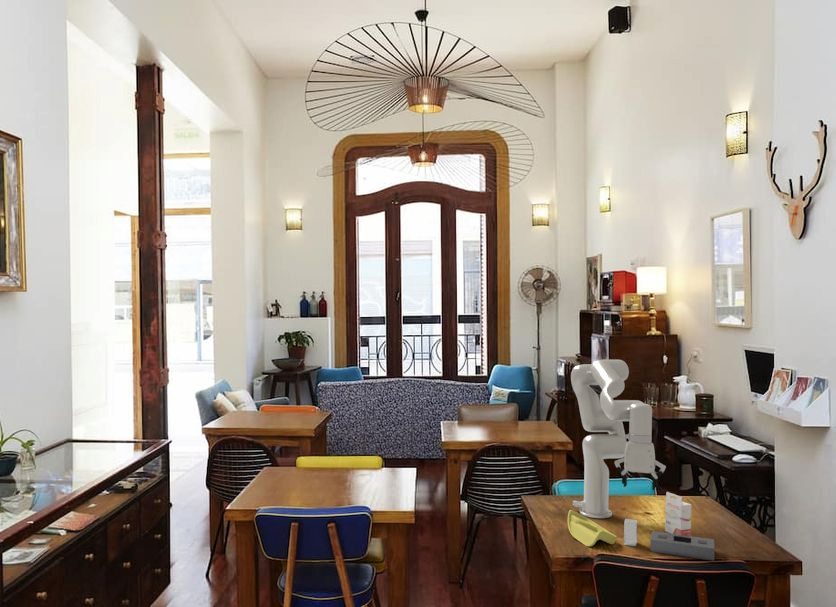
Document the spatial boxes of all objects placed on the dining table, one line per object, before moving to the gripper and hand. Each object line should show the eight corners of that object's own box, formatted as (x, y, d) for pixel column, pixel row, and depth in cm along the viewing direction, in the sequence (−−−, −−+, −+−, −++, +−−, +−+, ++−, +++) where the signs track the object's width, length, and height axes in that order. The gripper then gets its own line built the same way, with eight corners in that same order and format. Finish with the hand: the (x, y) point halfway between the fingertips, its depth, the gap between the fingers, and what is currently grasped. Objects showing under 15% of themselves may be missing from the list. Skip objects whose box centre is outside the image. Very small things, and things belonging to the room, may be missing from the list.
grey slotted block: (650, 551, 239) (650, 539, 239) (652, 542, 248) (652, 530, 248) (714, 560, 231) (714, 548, 231) (713, 550, 241) (714, 539, 241)
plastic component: (619, 538, 245) (598, 528, 241) (610, 558, 244) (589, 548, 241) (586, 517, 263) (567, 508, 260) (578, 535, 263) (558, 526, 259)
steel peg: (623, 544, 245) (624, 521, 245) (624, 541, 249) (625, 518, 249) (635, 546, 244) (636, 523, 244) (636, 542, 247) (637, 520, 247)
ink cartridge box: (691, 536, 255) (692, 496, 255) (681, 538, 253) (682, 497, 253) (674, 529, 263) (675, 490, 263) (664, 530, 261) (664, 491, 261)
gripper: (613, 438, 247) (612, 487, 247) (665, 443, 240) (664, 493, 240) (616, 435, 254) (615, 482, 254) (667, 439, 247) (666, 488, 247)
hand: (639, 487), depth 247 cm, fingers open, 9 cm apart
